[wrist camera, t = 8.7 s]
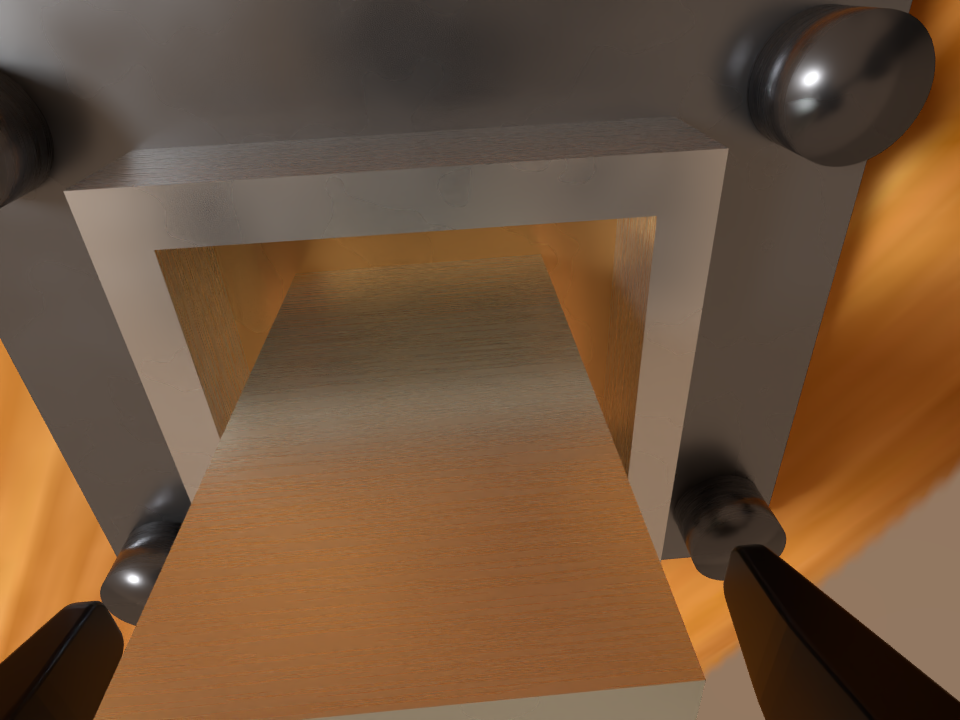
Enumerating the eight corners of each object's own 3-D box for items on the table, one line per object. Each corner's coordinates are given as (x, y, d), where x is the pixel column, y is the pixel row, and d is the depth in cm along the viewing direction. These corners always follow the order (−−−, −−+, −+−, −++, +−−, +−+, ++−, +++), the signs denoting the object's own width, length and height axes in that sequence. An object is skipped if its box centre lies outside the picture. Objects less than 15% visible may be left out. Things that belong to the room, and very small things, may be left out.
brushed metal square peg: (541, 254, 13) (706, 680, 5) (541, 487, 16) (640, 947, 8) (295, 273, 12) (83, 740, 5) (349, 504, 16) (275, 987, 8)
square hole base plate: (858, -52, 12) (1056, -64, 8) (728, 502, 20) (797, 626, 16) (-88, -1, 11) (-346, 12, 8) (167, 549, 19) (103, 688, 16)
